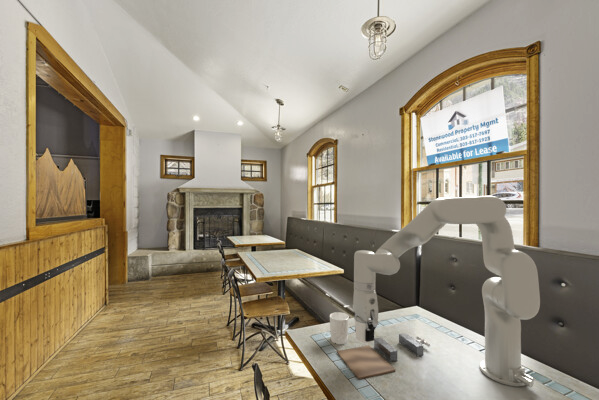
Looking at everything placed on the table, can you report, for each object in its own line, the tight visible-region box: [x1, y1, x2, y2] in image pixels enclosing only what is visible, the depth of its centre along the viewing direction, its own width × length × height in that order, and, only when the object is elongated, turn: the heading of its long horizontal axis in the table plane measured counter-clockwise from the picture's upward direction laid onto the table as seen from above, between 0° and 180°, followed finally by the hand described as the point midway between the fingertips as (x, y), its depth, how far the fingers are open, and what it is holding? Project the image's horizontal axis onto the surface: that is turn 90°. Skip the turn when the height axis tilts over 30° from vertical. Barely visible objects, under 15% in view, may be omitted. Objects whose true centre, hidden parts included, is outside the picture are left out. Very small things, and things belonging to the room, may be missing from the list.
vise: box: [373, 332, 431, 363], centre depth 102 cm, size 10×20×4 cm, turn 108°
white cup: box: [329, 311, 350, 345], centre depth 109 cm, size 8×8×10 cm
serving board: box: [336, 344, 396, 380], centre depth 95 cm, size 16×14×1 cm
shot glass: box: [354, 316, 372, 344], centre depth 95 cm, size 7×7×7 cm
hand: (364, 335), depth 95 cm, fingers closed on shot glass, 6 cm apart
